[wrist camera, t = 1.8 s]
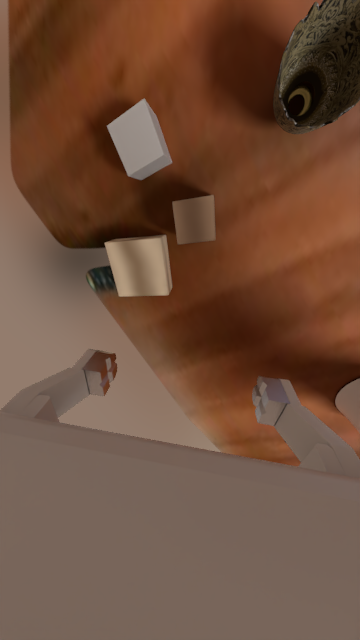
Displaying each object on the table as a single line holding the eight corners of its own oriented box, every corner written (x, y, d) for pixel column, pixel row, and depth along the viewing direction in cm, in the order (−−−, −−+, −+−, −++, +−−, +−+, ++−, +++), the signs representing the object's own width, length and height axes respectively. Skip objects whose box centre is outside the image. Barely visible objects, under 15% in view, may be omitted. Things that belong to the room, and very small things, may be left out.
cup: (268, 60, 21) (292, -10, 14) (345, 49, 20) (412, -33, 13) (256, 151, 25) (271, 130, 18) (320, 146, 23) (362, 122, 17)
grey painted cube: (156, 116, 25) (144, 98, 20) (172, 162, 27) (164, 154, 22) (124, 138, 26) (106, 125, 22) (141, 180, 28) (128, 176, 24)
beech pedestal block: (166, 234, 32) (160, 237, 28) (172, 286, 36) (168, 295, 33) (115, 238, 33) (104, 242, 30) (127, 288, 38) (119, 296, 34)
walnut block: (214, 196, 28) (213, 194, 23) (215, 234, 30) (215, 240, 25) (180, 202, 29) (172, 201, 24) (184, 238, 31) (177, 244, 26)
